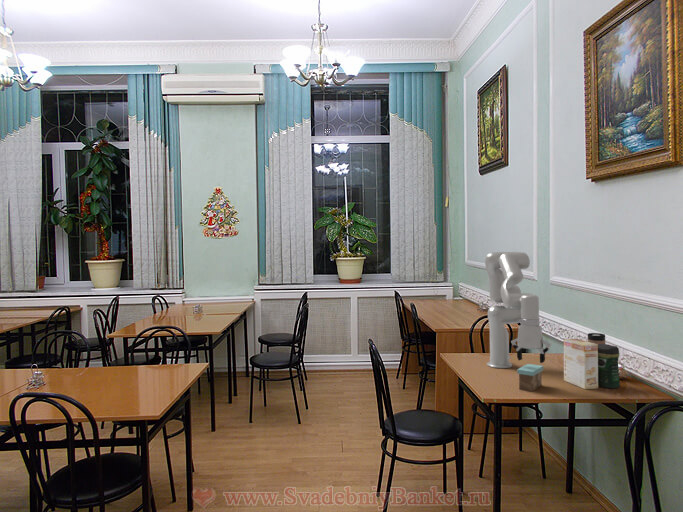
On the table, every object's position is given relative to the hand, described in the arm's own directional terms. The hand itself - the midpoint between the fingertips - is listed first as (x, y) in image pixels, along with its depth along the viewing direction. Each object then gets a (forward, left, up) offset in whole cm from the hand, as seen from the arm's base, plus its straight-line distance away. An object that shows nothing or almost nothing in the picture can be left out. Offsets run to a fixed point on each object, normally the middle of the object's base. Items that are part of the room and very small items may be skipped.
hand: (530, 361), depth 220 cm
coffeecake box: (-18, +16, -12) cm, 27 cm away
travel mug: (-38, +18, -12) cm, 44 cm away
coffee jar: (-22, +26, -12) cm, 36 cm away
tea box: (0, 0, -12) cm, 12 cm away
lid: (0, 0, -5) cm, 5 cm away
